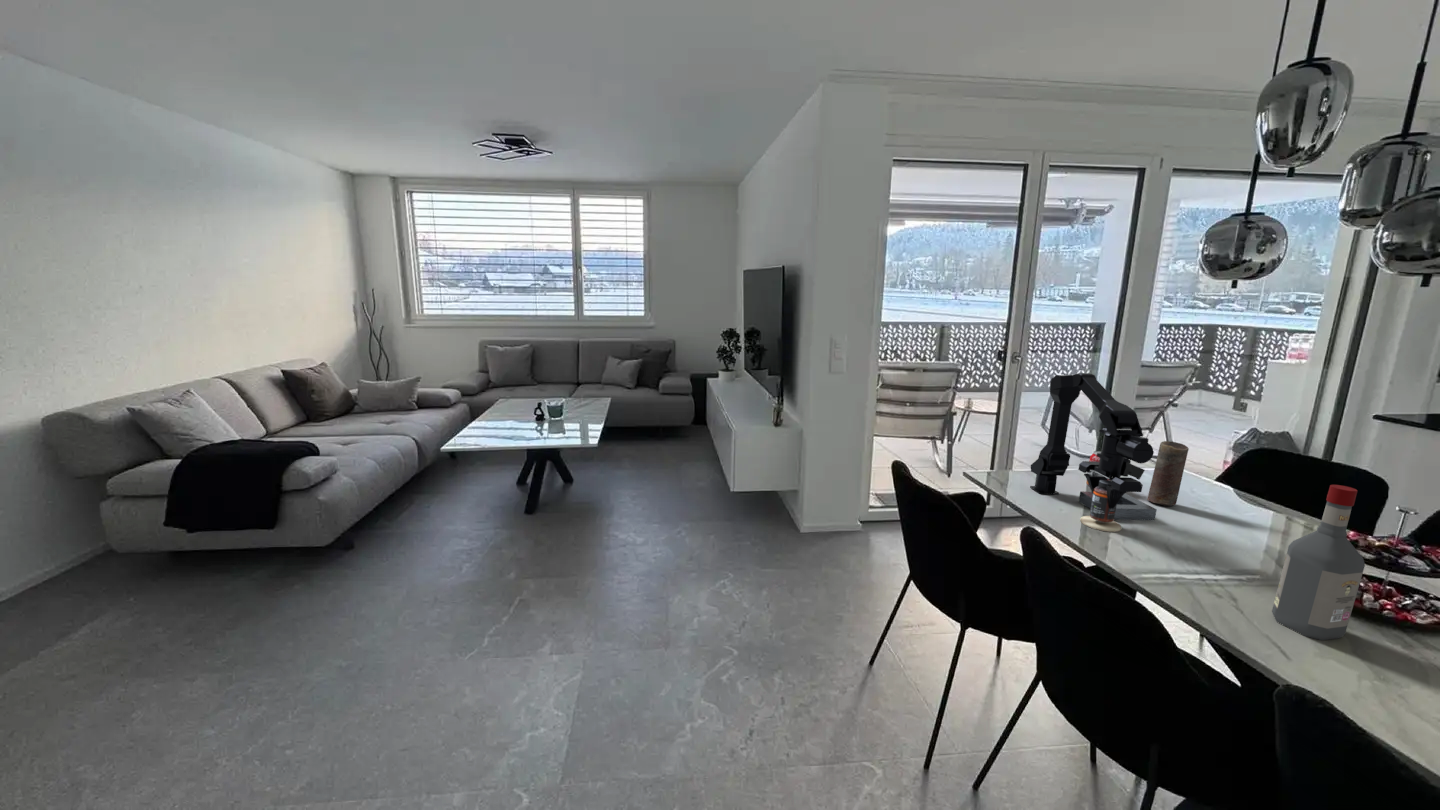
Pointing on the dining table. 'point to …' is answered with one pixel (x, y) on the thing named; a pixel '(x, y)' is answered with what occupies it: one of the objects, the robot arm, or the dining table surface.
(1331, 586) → the grey bottle
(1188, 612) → the dining table surface
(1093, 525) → the coaster pad
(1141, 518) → the socket plate
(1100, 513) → the supplement bottle
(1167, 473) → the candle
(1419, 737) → the dining table surface
